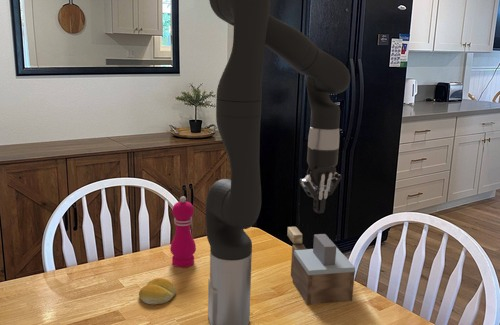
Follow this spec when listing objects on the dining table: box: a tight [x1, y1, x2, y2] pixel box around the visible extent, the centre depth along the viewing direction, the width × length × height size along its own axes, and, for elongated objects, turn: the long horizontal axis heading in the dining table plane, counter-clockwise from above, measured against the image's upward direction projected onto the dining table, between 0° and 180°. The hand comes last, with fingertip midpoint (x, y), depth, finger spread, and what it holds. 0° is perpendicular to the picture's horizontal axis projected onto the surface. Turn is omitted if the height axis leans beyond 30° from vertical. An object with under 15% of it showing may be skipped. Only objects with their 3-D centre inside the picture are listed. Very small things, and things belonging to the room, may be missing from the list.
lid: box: [294, 233, 356, 275], centre depth 126 cm, size 12×12×7 cm
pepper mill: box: [170, 195, 197, 268], centre depth 140 cm, size 7×7×20 cm
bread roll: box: [138, 277, 177, 306], centre depth 123 cm, size 8×9×4 cm
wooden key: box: [286, 226, 303, 245], centre depth 137 cm, size 2×6×2 cm, turn 12°
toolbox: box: [290, 243, 356, 306], centre depth 129 cm, size 12×15×9 cm
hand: (318, 212), depth 125 cm, fingers closed
